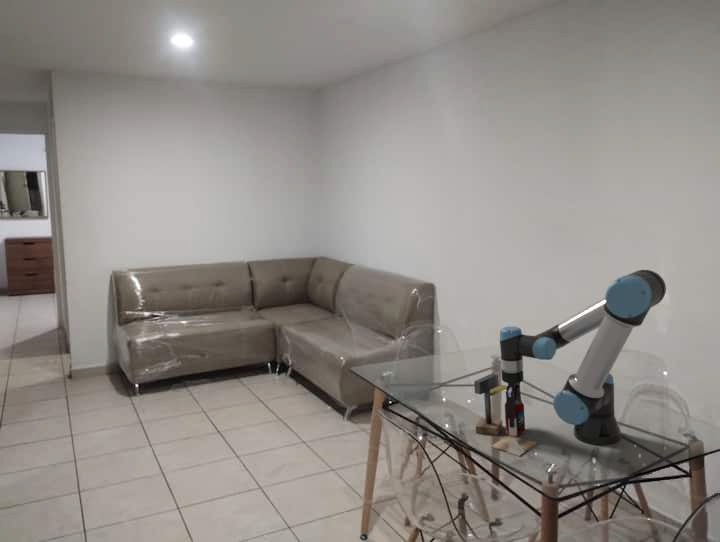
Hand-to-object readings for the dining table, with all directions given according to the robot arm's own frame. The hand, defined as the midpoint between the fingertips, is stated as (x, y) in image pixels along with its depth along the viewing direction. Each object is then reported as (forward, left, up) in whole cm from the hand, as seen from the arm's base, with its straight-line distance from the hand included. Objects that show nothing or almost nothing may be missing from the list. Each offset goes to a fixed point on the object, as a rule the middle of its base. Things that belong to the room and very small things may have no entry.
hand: (515, 430), depth 210 cm
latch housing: (+9, +3, -1) cm, 10 cm away
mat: (-5, +10, -1) cm, 11 cm away
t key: (+9, 0, +2) cm, 9 cm away
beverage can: (0, 0, -1) cm, 1 cm away
